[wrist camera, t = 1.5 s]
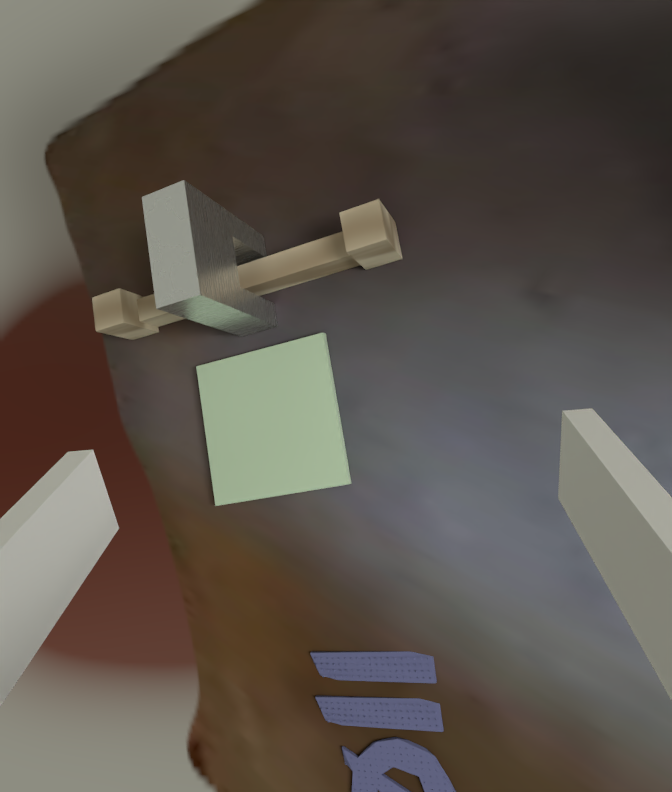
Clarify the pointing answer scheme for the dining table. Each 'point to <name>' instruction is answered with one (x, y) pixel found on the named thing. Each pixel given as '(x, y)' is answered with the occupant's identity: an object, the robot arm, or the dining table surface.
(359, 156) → the dining table surface
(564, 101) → the dining table surface
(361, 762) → the signage
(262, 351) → the pad
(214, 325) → the tall grey upright block
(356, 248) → the rail stand
